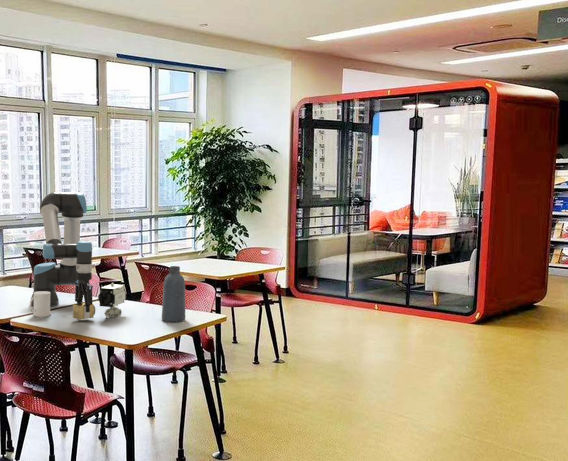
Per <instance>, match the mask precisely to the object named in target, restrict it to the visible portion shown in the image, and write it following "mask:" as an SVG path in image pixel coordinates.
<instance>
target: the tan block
mask: <svg viewBox="0 0 568 461" xmlns="http://www.w3.org/2000/svg"><path fill="white" fill-rule="evenodd" d="M84 305H85V302H83V303H79V304H78V303H73V305H72V306H73V307H72V318H73V319H75V320H78V321H79V320H86V319H87V320H89V319H93V318H94V316H95V314H96V307H95V305H94V303H92V305H90V318H86V319H84Z"/></svg>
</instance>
